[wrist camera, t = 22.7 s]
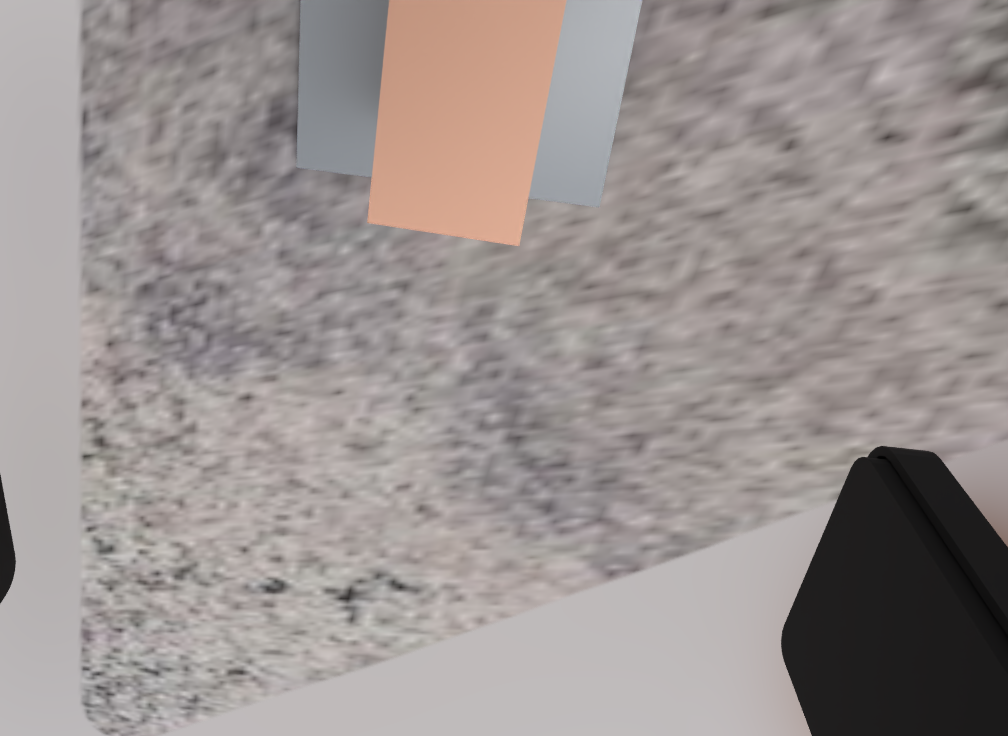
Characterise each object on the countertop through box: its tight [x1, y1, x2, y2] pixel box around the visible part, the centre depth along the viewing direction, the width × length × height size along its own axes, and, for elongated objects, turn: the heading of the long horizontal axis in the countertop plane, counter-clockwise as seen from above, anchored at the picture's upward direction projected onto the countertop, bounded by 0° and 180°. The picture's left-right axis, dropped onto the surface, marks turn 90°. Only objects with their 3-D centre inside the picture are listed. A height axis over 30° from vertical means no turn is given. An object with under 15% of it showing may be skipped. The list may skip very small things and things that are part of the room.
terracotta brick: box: [367, 0, 566, 246], centre depth 29 cm, size 9×5×6 cm, turn 170°
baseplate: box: [296, 0, 642, 207], centre depth 37 cm, size 14×14×1 cm
